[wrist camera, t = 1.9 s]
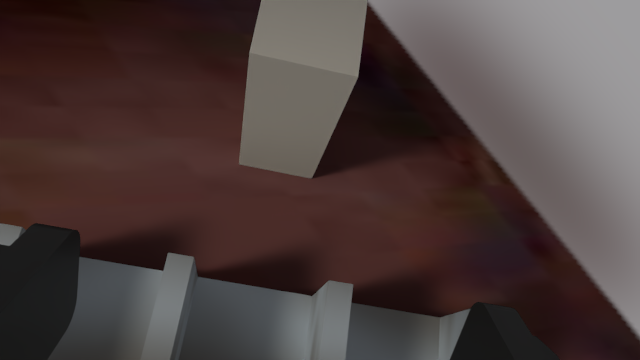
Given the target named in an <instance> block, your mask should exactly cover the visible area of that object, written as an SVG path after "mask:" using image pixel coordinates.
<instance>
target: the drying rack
mask: <svg viewBox="0 0 640 360" xmlns="http://www.w3.org/2000/svg"><path fill="white" fill-rule="evenodd" d="M25 231H26V230H25V229H24V228H23V227H18V226H12V225H7V224H1V223H0V244H1V245H7V246H10V245H11V244H12V243H13V242H14V241H15V240H16V239H18V238H19V237H20V236H21V235H22V234H23V233H24V232H25ZM352 291H353V284H347V283H341V282H336V281H330V280H329V281H328V282H327V283H326V284H325V285H324V286H323V287H321V288H320V289H319V290H318V291H317V292H316V293H315V294H314V295H313V296H309V295H303V294H297V293H291V292H285V291H279V290H273V289H267V288H261V287H255V286H249V285H243V284H237V283H231V282H226V281H220V280H214V279H208V278H202V277H198V275H197V270H196V264H195V259H194V257H191V256H186V255H180V254H174V253H168V255H167V259H166V263H165V267H164V270H163V271H160V270H154V269H148V268H143V267H137V266H131V265H125V264H119V263H113V262H107V261H101V260H95V259H89V258H83V257H79V273H78V290H77V301H76V307H75V311H74V314H73V317H72V320H71V322H70V324H69V327H68V329H67V330H66V332H65V333H64V335H63V337H62V338H61V340H60V341H59V343H58V344H57V346H56V347H55V349H54V350H53V352H52V353H51V355H50V356H49V358H48V360H450V358H451V355H452V353H453V350H454V348H455V345H456V343H457V340H458V338H459V336H460V333H461V331H462V328H463V326H464V323H465V321H466V318H467V316H468V314H469V311H470V309H467V310H464V311H461V312H457V313H454V314H451V315H447V316H444V317H441V318H439V317H433V316H427V315H421V314H415V313H409V312H403V311H397V310H392V309H386V308H380V307H374V306H368V305H362V304H356V303H351V300H352Z"/></svg>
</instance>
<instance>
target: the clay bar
mask: <svg viewBox="0 0 640 360" xmlns="http://www.w3.org/2000/svg"><path fill="white" fill-rule="evenodd" d="M367 1H368V0H261V4H260V9H259V13H258V17H257V22H256V26H255V30H254V35H253V39H252V43H251V48H250V52H249V62H248V73H247V83H246V94H245V105H244V115H243V126H242V137H241V148H240V158H239V164H240V165H245V166H251V167H256V168H261V169H266V170H271V171H276V172H281V173H286V174H291V175H296V176H301V177H306V178H312V177H313V175H314V173H315V171H316V168H317V166H318V164H319V162H320V160H321V157H322V155H323V153H324V151H325V149H326V146H327V144H328V142H329V140H330V138H331V135H332V133H333V131H334V129H335V127H336V124H337V122H338V120H339V118H340V116H341V113H342V111H343V109H344V107H345V105H346V103H347V100H348V98H349V96H350V94H351V92H352V89H353V87H354V85H355V83H356V81H357V78H358V74H359V66H360V58H361V50H362V42H363V33H364V25H365V17H366V9H367Z"/></svg>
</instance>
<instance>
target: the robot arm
mask: <svg viewBox="0 0 640 360" xmlns="http://www.w3.org/2000/svg"><path fill="white" fill-rule="evenodd" d="M79 256H80V234H79V232H78V231H77V230H72V229H66V228H61V227H55V226H49V225H44V224H38V223H35V224H33V225H32V226H30V227H29V228H28V229H27V230H26V231H25V232H24V233H23V234H22V235H21V236H20V237H19V238H18V239H16V240H15V241H14V242H13V243H12V244H11V245H10V246H7V245H1V244H0V360H48V358H49V356H50V355H51V353H52V352H53V350H54V349H55V347H56V346H57V344H58V343H59V341H60V340H61V338H62V337H63V335H64V333H65V332H66V330H67V329H68V327H69V324H70V322H71V320H72V317H73V314H74V311H75V307H76V301H77V290H78V273H79ZM450 360H560V359H559V358H558V356H557V355H556V354H555V353H554V352H553V351H551V350H550V349H549V348H548V347H547V346H546V345H545V344H544V343H543V342H542V341H540V340H539V339H538V338H537V337H536V336H532V334H531V333H530V331H529V329H528V328H527V326H526V325H525V323H524V322H523V320H522V318H521V317H520V315H519V314H518V312H517V311H516V310H515V309H513V308H510V307H504V306H499V305H493V304H487V303H481V302H477V303H475V304H474V305H473V306H472V308H471V309H470V311H469V314H468V316H467V318H466V321H465V323H464V326H463V328H462V331H461V333H460V336H459V338H458V340H457V343H456V345H455V348H454V350H453V353H452V355H451V358H450Z"/></svg>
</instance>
